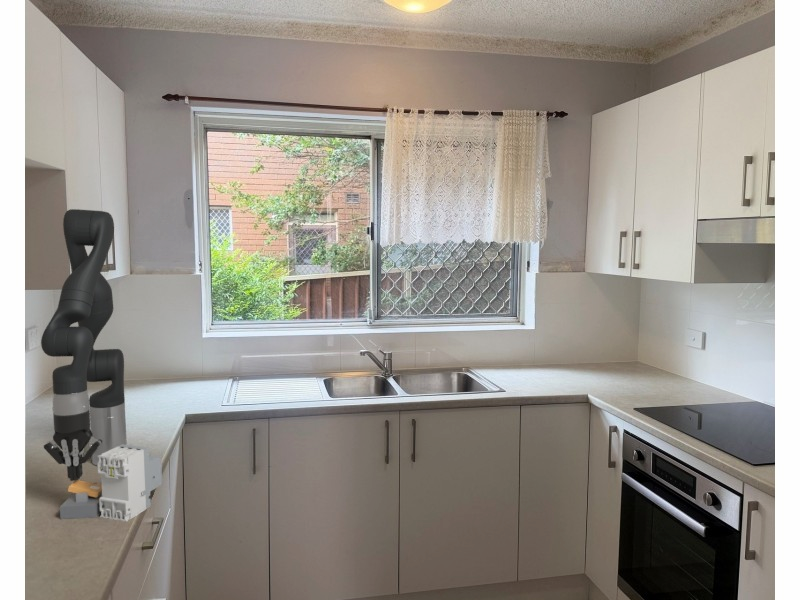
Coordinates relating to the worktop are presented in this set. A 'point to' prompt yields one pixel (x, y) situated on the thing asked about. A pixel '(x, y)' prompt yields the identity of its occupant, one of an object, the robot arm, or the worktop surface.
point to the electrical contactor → (127, 481)
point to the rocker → (85, 488)
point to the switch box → (80, 506)
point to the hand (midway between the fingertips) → (75, 479)
